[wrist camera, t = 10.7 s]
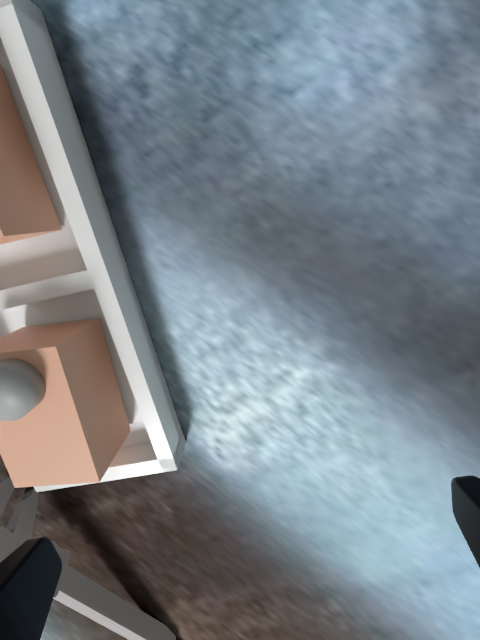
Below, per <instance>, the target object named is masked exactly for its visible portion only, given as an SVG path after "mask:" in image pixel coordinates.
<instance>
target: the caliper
mask: <svg viewBox="0 0 480 640" xmlns="http://www.w3.org/2000/svg"><path fill="white" fill-rule="evenodd" d="M14 488H15V487H14V485H13V483H12V480H11V478H10V476H9V477H7V478H5V479H3V480H2V481H1V482H0V516H1V514H2V512H3V510H4V508H5V506H6V504H7V502H8V500H9V498H10V496H11V494H12V492H13V490H14ZM38 499H39V492H36V491H35V489H32V490H30V491H28V492H26V493H24V495H23V497H22V499H21V501H20V502H19V503H18V505H17V507H16V509H15V511H14V513H13V515H12V517H11V519H10V521H9V523H8V525H7V527H6V528H4V527H2V526H0V562H2V561H3V560H4V559H5V558H6V557H7V556H9V555H10V554H11V553H12V552H13V551H15V550H16V549H17V548H18V547H19V546H20V545H22V544H23V543H24V542H25V541H27V540H28V539H30V538H34V537H32V531H33V525H34V520H35V515H36V510H37V504H38ZM52 543H53V545H54V547H55V549H56V550H57V552H58V554H59V556H60V558H61V560H62V572H61V575H60V578H59V581H58V585H57V588H56V591H55V594H54V597H53V599H55V600H57V601H59V602H61V603H63V604H64V605H66V606H68V607H70V608H72V609H74V610H75V611H77V612H79V613H81V614H83V615H85V616H86V617H88V618H90V619H92V620H94V621H96V622H97V623H99V624H101V625H103V626H105V627H107V628H108V629H110V630H112V631H114V632H116V633H118V634H119V635H121V636H123V637H125V638H127V639H129V640H176V636H175V635H174V634H173V633H172V632H171V631H170V630H169V629H168V628H167V627H166V625H164V624H163V623H161V622H159V621H158V620H156V619H154V618H153V617H151V616H149V615H148V614H146V613H144V612H143V611H141V610H139V609H138V608H136V607H134V606H133V605H131V604H129V603H128V602H126V601H124V600H123V599H121V598H119V597H118V596H116V595H115V594H113V593H111V592H110V591H108V590H106V589H105V588H103V587H102V586H100V585H98V584H97V583H95V582H93V581H92V580H90V579H89V578H87V577H85V576H84V575H82V574H81V573H79V572H77V571H76V570H74V569H72V568H71V567H69V566H68V562H69V559H70V555H71V552H70V551H69V550H66V549H62V548H60V547H59V546H58V545H57V544H56V543H55V542H54V541H52Z"/></svg>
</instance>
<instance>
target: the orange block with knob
mask: <svg viewBox="0 0 480 640" xmlns="http://www.w3.org/2000/svg"><path fill="white" fill-rule="evenodd" d="M130 431H131V429H130V426H129V422H128V419H127V415H126V411H125V408H124V404H123V400H122V397H121V393H120V389H119V386H118V382H117V378H116V375H115V371H114V368H113V364H112V360H111V357H110V353H109V349H108V346H107V342H106V338H105V335H104V331H103V327H102V324H101V320H100V318H94V319H86V320H78V321H69V322H61V323H52V324H44V325H36V326H27V327H22V328H20V329H18V330H16V331H14V332H12V333H10V334H7V335H5V336H3V337H1V338H0V454H1V456H2V459H3V461H4V464H5V466H6V468H7V471H8V473H9V475H10V478H11V480H12V483H13V485H14V487H15V488H19V487H34V486H49V485H64V484H79V483H94V482H100V481H101V479H102V477H103V476H104V474H105V472H106V471H107V469H108V467H109V466H110V464H111V462H112V461H113V459H114V457H115V456H116V454H117V452H118V451H119V449H120V447H121V446H122V444H123V442H124V441H125V439H126V437H127V436H128V434H129V432H130Z"/></svg>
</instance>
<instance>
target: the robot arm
mask: <svg viewBox="0 0 480 640" xmlns="http://www.w3.org/2000/svg"><path fill="white" fill-rule="evenodd" d="M451 490H452V508H453V513H454V516H455V519H456V521H457V523H458V525H459V527H460V529H461V531H462V533H463V535H464V537H465V539H466V541H467V543H468V545H469V547H470V549H471V551H472V553H473V555H474V557H475V559H476V561H477V563H478V565H479V567H480V479H479V478H478V477H475V476H463V477H456V478H453V479H452V481H451ZM61 572H62V560H61V558H60V556H59V554H58V552H57V550H56V549H55V547H54V545H53V543H52V541H51V539H50V538H49V537H47V536H41V537H34V538H30V539H28V540H27V541H25V542H24V543H23V544H22V545H20V546H19V547H18V548H17V549H16V550H15V551H13V552H12V553H11V554H10V555H9V556H7V557H6V558H5V559H4V560H3V561H2V562H0V640H40V638H41V635H42V631H43V628H44V625H45V622H46V619H47V616H48V613H49V610H50V606H51V603H52V600H53V597H54V594H55V591H56V588H57V585H58V581H59V578H60V575H61Z"/></svg>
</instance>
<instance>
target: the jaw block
mask: <svg viewBox="0 0 480 640" xmlns="http://www.w3.org/2000/svg"><path fill="white" fill-rule="evenodd" d="M59 230H62V228H61V226H60V223H59V220H58V218H57V215H56V212H55V210H54V207H53V204H52V201H51V199H50V196H49V193H48V191H47V188H46V185H45V183H44V180H43V177H42V174H41V172H40V169H39V166H38V164H37V161H36V158H35V156H34V153H33V150H32V147H31V145H30V142H29V139H28V137H27V134H26V131H25V129H24V126H23V123H22V121H21V118H20V115H19V112H18V110H17V107H16V104H15V102H14V99H13V96H12V94H11V91H10V88H9V85H8V83H7V80H6V77H5V75H4V72H3V69H2V67H1V64H0V245H1V244H5V243H9V242H14V241H18V240H22V239H26V238H30V237H34V236H38V235H42V234H47V233H51V232H55V231H59Z"/></svg>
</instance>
